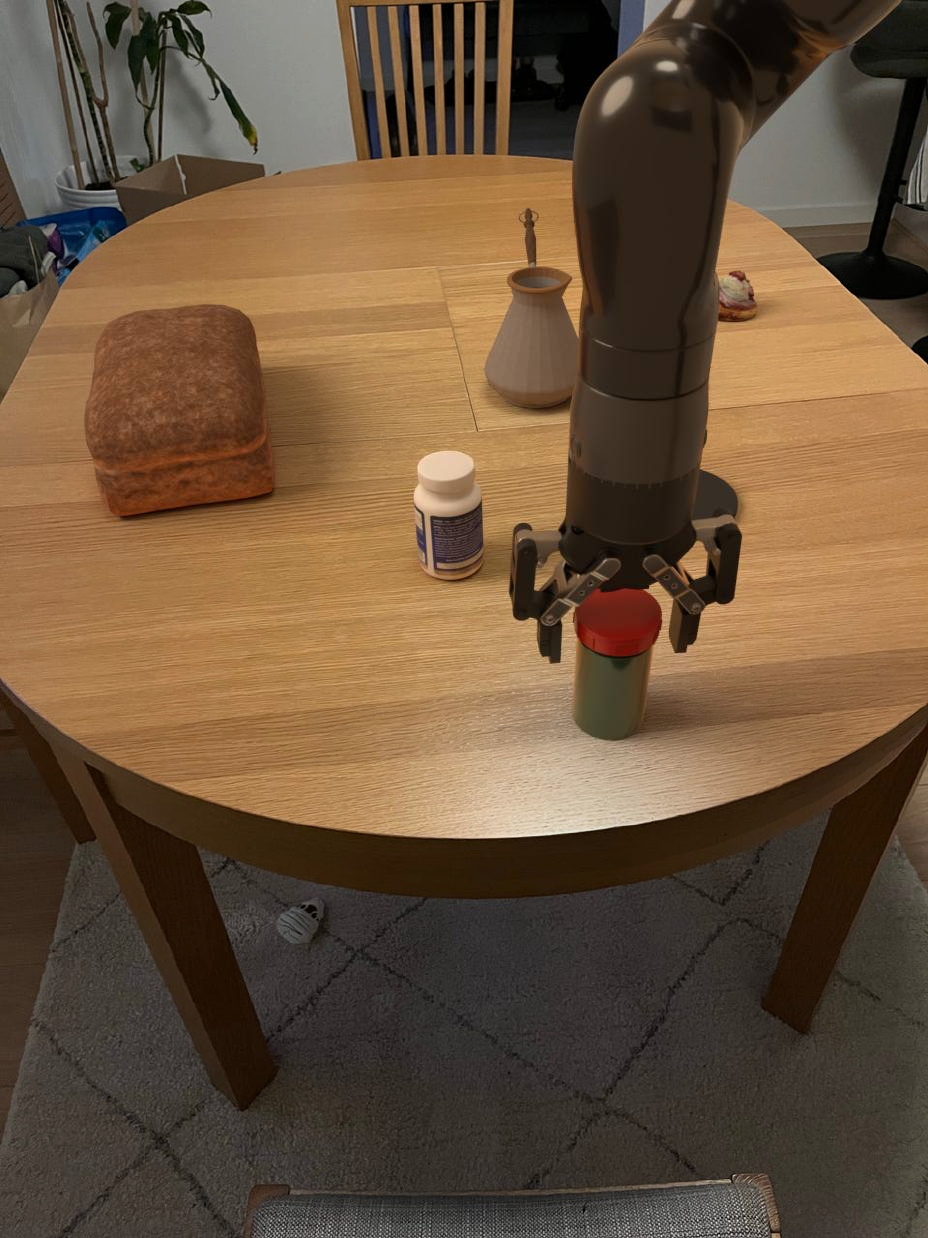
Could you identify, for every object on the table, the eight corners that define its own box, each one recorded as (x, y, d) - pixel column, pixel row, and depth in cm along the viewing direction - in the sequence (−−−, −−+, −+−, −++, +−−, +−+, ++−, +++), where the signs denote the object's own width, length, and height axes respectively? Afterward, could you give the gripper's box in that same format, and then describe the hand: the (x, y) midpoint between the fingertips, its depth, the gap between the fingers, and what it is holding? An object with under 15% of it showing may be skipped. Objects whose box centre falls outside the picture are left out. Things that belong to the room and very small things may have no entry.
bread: (264, 365, 111) (246, 270, 103) (281, 501, 89) (260, 393, 82) (118, 384, 109) (88, 288, 101) (99, 528, 87) (60, 419, 80)
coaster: (747, 483, 89) (749, 478, 89) (723, 548, 82) (724, 542, 81) (636, 461, 93) (636, 456, 92) (602, 521, 85) (603, 516, 85)
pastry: (768, 315, 117) (776, 275, 113) (719, 327, 115) (726, 287, 111) (729, 292, 122) (735, 254, 119) (681, 304, 120) (686, 265, 117)
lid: (589, 591, 65) (591, 574, 64) (669, 612, 63) (672, 595, 62) (561, 642, 61) (562, 625, 60) (645, 666, 59) (647, 649, 58)
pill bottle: (496, 554, 82) (494, 457, 75) (461, 590, 79) (457, 491, 72) (441, 535, 84) (435, 439, 78) (405, 569, 81) (396, 472, 74)
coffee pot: (593, 415, 100) (602, 276, 90) (486, 419, 100) (483, 281, 90) (573, 329, 116) (578, 203, 106) (480, 333, 116) (478, 207, 106)
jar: (652, 698, 69) (666, 604, 62) (632, 748, 65) (644, 654, 59) (585, 679, 70) (592, 586, 64) (562, 727, 67) (567, 633, 61)
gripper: (739, 402, 56) (702, 606, 66) (503, 418, 55) (504, 622, 66) (781, 469, 50) (733, 681, 61) (518, 488, 50) (517, 698, 60)
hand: (614, 650), depth 63 cm, fingers open, 8 cm apart
